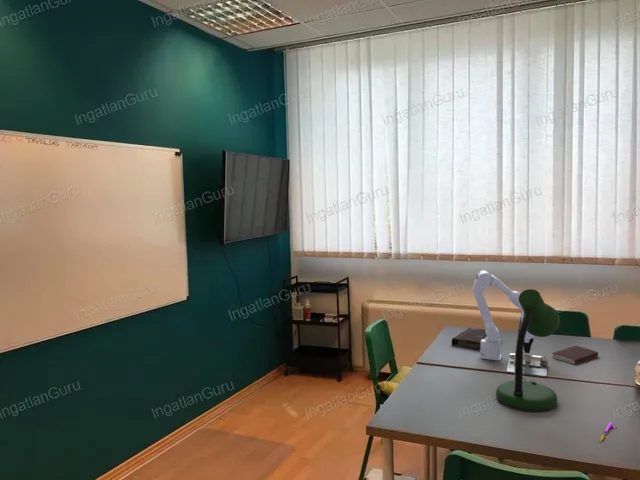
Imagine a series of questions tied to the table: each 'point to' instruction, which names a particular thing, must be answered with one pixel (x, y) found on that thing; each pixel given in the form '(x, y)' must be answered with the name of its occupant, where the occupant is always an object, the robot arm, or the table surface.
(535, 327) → the desk lamp
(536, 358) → the cable arm
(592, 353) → the book
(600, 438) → the purple handled tool
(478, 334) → the diary
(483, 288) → the robot arm
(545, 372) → the server tray
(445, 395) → the table surface
